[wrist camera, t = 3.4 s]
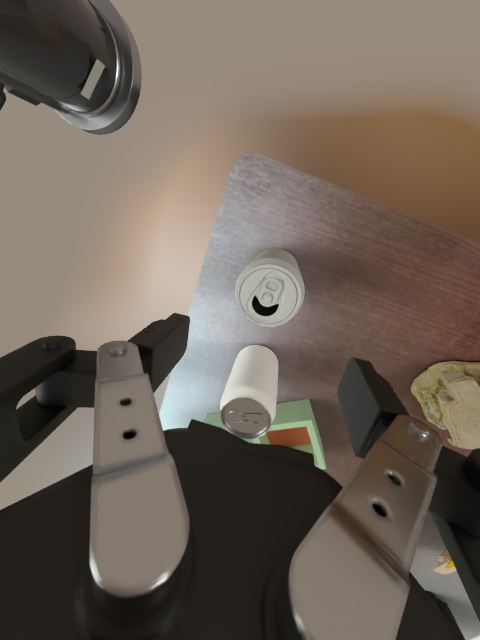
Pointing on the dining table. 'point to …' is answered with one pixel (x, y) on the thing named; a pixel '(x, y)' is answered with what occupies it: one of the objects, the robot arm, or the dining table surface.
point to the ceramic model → (452, 400)
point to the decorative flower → (445, 563)
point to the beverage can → (270, 288)
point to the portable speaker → (445, 612)
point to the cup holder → (289, 429)
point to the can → (251, 393)
